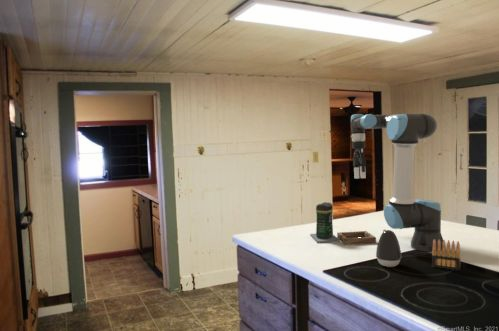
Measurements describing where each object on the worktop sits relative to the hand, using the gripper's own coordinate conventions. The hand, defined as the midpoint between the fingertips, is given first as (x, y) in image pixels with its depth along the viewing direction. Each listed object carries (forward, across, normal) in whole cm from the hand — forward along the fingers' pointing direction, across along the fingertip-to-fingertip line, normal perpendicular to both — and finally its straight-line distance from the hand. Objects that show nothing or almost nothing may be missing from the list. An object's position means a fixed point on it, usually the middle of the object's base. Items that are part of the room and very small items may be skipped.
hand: (360, 178), depth 236 cm
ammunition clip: (+39, +64, +17) cm, 77 cm away
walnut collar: (+33, +18, -8) cm, 38 cm away
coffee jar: (+31, +12, -23) cm, 41 cm away
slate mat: (+32, +12, -24) cm, 42 cm away
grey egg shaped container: (+38, +58, -5) cm, 70 cm away
